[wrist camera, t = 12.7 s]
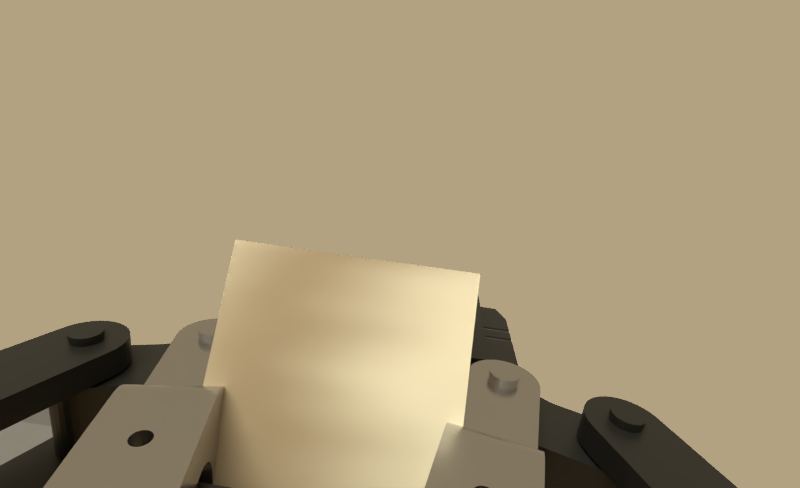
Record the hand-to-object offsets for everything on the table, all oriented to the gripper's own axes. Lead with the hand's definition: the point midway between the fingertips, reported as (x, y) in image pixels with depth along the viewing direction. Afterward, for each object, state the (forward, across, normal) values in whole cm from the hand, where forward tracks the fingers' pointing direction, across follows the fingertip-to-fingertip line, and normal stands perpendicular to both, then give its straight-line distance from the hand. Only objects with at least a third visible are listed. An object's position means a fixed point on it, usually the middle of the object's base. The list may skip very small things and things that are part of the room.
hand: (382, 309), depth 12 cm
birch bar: (+3, 0, -6) cm, 6 cm away
